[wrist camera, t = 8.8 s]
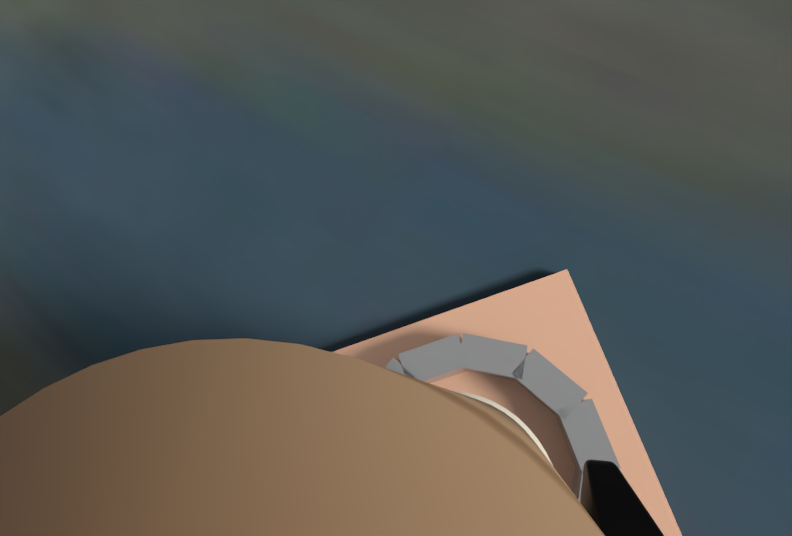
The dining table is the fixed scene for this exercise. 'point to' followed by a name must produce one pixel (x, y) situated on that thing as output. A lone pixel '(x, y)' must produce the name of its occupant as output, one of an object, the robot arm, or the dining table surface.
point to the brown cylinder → (271, 452)
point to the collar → (531, 377)
